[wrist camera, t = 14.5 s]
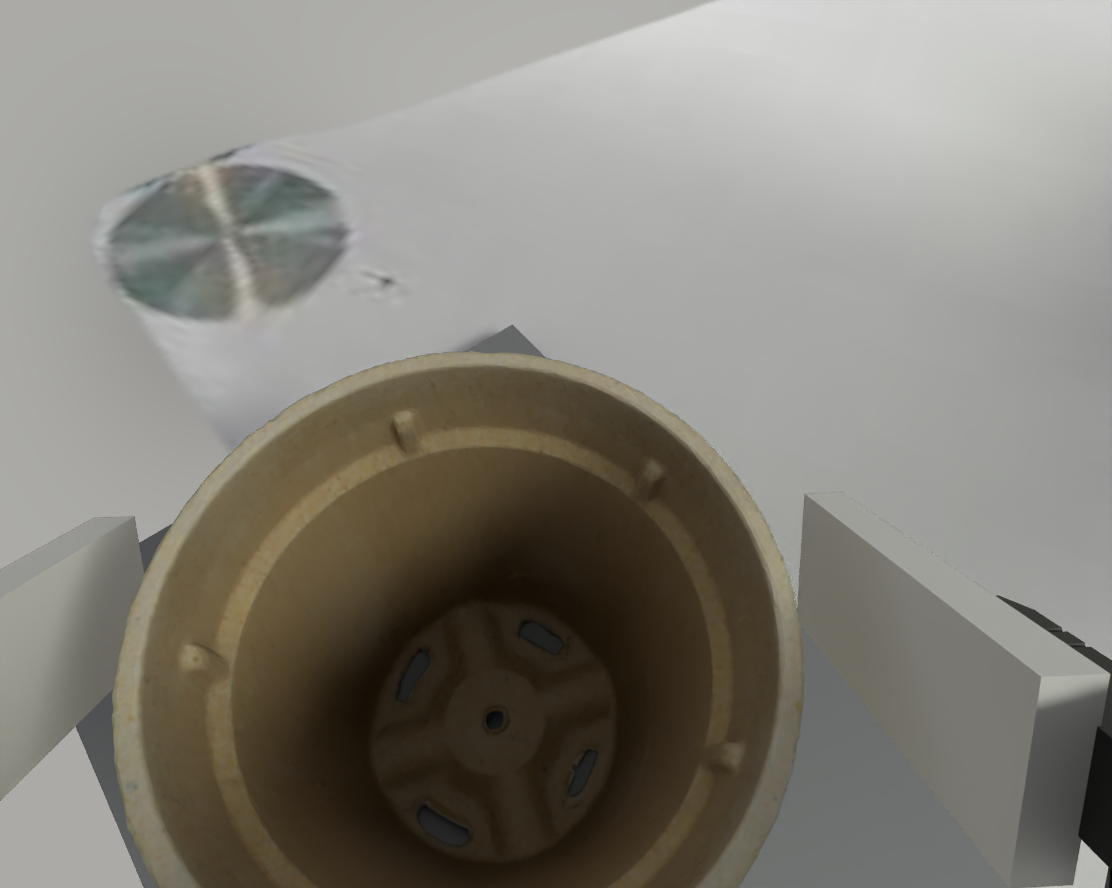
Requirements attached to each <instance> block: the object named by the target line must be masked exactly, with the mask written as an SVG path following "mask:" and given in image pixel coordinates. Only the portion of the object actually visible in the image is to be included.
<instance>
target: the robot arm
mask: <svg viewBox="0 0 1112 888" xmlns="http://www.w3.org/2000/svg"><path fill="white" fill-rule="evenodd" d="M143 576H144V570H143V564H142V558H141V552H140V546H139V540H138V535H137V529H136V523H135V517H107V518H106V517H105V518H93V519H91V520H89V521H87V522H86V523H84V524H82V525H80V526H79V527H77V528H75V529H73V530H71V531H69V532H67V533H66V534H64V535H62V536H60V537H58V538H57V539H55V540H53V541H51V542H49V543H48V544H46V545H44V546H42V547H41V548H39V549H37V550H35V551H33V552H31V553H30V554H28V555H26V556H24V557H22V558H21V559H19V560H17V561H15V562H13V563H12V564H10V565H8V566H6V567H4V568H3V569H1V570H0V801H1V800H2V799H3V798H4V797H5V796H6V794H8V793H9V792H10V791H11V790H12V789H13V788H14V787H15V786H16V785H17V784H18V783H19V782H20V781H21V780H22V779H23V778H24V777H25V776H26V775H27V774H28V773H29V772H30V771H31V770H32V769H33V768H34V767H35V766H36V765H37V764H38V763H39V762H40V761H41V760H42V759H43V758H44V757H45V756H46V755H47V754H48V753H49V752H50V751H51V750H52V749H53V748H54V747H55V746H56V745H57V744H58V743H59V742H60V741H61V740H62V739H63V738H64V737H65V736H66V735H67V734H68V733H69V732H70V731H71V730H72V729H73V728H74V727H75V726H76V725H77V724H78V723H79V722H80V721H81V720H82V719H83V718H84V717H85V716H86V715H87V714H88V713H89V712H90V711H91V710H92V709H93V708H94V707H95V706H96V705H97V704H98V703H99V702H100V701H101V700H102V699H103V698H104V697H105V696H106V695H107V694H108V693H109V692H110V691H111V690H112V689H113V688H114V684H115V679H116V673H117V667H118V657H119V654H120V651H121V648H122V644H123V639H124V634H125V629H126V621H127V618H128V616H129V612H130V608H131V606H132V603H133V601H134V599H135V597H136V595H137V592H138V590H139V588H140V586H141V584H142V579H143ZM797 612H798V614H799V616H800V624H801V626H802V627H803V628H804V630H805V631H806V632H807V633H808V635H809V636H810V637H811V638H812V640H813V641H814V642H815V643H816V645H817V646H818V647H819V649H820V650H821V651H822V652H823V654H824V655H825V656H826V657H827V659H828V660H829V661H830V662H831V664H832V665H833V666H834V667H835V669H836V670H837V671H838V673H839V674H840V675H841V676H842V678H843V679H844V680H845V681H846V683H847V684H848V685H849V686H850V688H851V689H852V690H853V692H854V693H855V694H856V695H857V697H858V698H859V699H860V700H861V702H862V703H863V704H864V705H865V707H866V708H867V709H868V710H869V712H870V713H871V714H872V716H873V717H874V718H875V719H876V721H877V722H878V723H879V724H880V726H881V727H882V728H883V729H884V731H885V732H886V733H887V735H888V736H889V737H890V738H891V740H892V741H893V742H894V743H895V745H896V746H897V747H898V748H899V750H900V751H901V752H902V753H903V755H904V756H905V757H906V759H907V760H908V761H909V762H910V764H911V765H912V766H913V767H914V769H915V770H916V771H917V772H918V774H919V775H920V776H921V778H922V779H923V780H924V781H925V783H926V784H927V785H928V786H929V788H930V789H931V790H932V791H933V793H934V794H935V795H936V796H937V798H938V799H939V800H940V802H941V803H942V804H943V805H944V807H945V808H946V809H947V810H948V812H949V813H950V814H951V815H952V817H953V818H954V819H955V821H956V822H957V823H958V824H959V826H960V827H961V828H962V829H963V831H964V832H965V833H966V834H967V836H968V837H969V838H970V839H971V841H972V842H973V843H974V845H975V846H976V847H977V848H978V850H979V851H980V852H981V853H982V855H983V856H984V857H985V858H986V860H987V861H988V862H989V864H990V865H991V866H992V867H993V869H994V870H995V871H996V872H997V874H998V875H999V876H1000V877H1001V879H1002V880H1003V881H1004V882H1005V884H1006V885H1007V886H1008V888H1026V887H1044V886H1062V885H1073V882H1074V876H1075V871H1076V865H1077V859H1078V854H1079V848H1080V843H1081V839H1082V840H1083V841H1084V842H1085V843H1086V844H1087V845H1088V846H1089V847H1090V848H1091V850H1092V851H1093V852H1094V853H1095V854H1096V855H1097V856H1098V857H1099V858H1100V859H1101V860H1102V861H1103V862H1104V863H1105V864H1106V865H1107V866H1108V867H1109V868H1108V873H1107V878H1106V884H1105V888H1112V660H1110V659H1109V658H1107V657H1105V656H1104V655H1102V654H1101V653H1099V652H1098V651H1096V650H1095V649H1093V648H1092V647H1085V643H1084V642H1083V641H1081V640H1079V639H1078V638H1076V637H1075V636H1073V635H1072V634H1070V633H1069V632H1063V631H1062V628H1061V627H1060V626H1058V625H1057V624H1055V623H1053V622H1052V621H1050V620H1049V619H1047V618H1046V617H1044V616H1043V615H1041V614H1040V613H1038V612H1037V611H1035V610H1033V609H1030V608H1028V607H1026V606H1023V605H1021V604H1018V603H1016V602H1013V601H1011V600H1008V599H1006V598H1003V597H1001V596H995V595H993V594H992V593H990V592H989V591H987V590H986V589H984V588H983V587H982V586H980V585H979V584H977V583H976V582H974V581H973V580H971V579H970V578H968V577H967V576H965V575H964V574H962V573H961V572H959V571H958V570H956V569H955V568H954V567H952V566H951V565H949V564H948V563H946V562H945V561H943V560H942V559H940V558H939V557H937V556H936V555H934V554H933V553H931V552H930V551H928V550H927V549H925V548H924V547H923V546H921V545H920V544H918V543H917V542H915V541H914V540H912V539H911V538H909V537H908V536H906V535H905V534H903V533H902V532H900V531H899V530H897V529H896V528H895V527H893V526H892V525H890V524H889V523H887V522H886V521H884V520H883V519H881V518H880V517H878V516H877V515H875V514H874V513H872V512H871V511H869V510H868V509H866V508H865V507H864V506H862V505H861V504H859V503H858V502H856V501H855V500H853V499H852V498H850V497H849V496H847V495H846V494H844V493H843V492H831V493H805V494H804V510H803V526H802V542H801V559H800V575H799V591H798V607H797Z"/></svg>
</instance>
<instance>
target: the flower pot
mask: <svg viewBox="0 0 1112 888" xmlns="http://www.w3.org/2000/svg"><path fill="white" fill-rule="evenodd" d="M526 622H533V623H537V624H538V625H540V626H542V627H543V628H545V629H546V630H547V631H548V632H549V633H550V634H551V635H553V636H556V637H558V638H559V640H560V641H561V642H562V644H563V647H562V648H561V649H560V650H559V652H558V653H556V654H553V653H551V652H548V651H547V650H545V649H543V648H541V647H539V646H537V645H536V644H535V643H533V642H532V641H529V640H526V639H525V638H524V637H523V638H520V637H519V634H518V633H519V629H520V627H521V625H522V624H523V623H526ZM421 651H425V652H428V653H429V657H430V664H429V666H428V667H427V669H426V670H425V672H424V673H423V674H422V675H420V677H419V678H418V680H417V682H416V684H415V686H414V688H413V690H412V692H411V694H410V695H409V696H408V698H407V699H406V700H399V699H398V698H397V696H398V694H399V692H400V690H401V682H402V680H403V678H404V676H405V674H406V671H407V669H408V668H409V666H410V664H411V662H412V660H413V659H414V658H415V657H416V655H417V654H418V653H420V652H421ZM804 660H805V657H804V649H803V642H802V634H801V625H800V616H799V614H798V612H797V611H796V601H795V594H794V591H793V589H792V586H791V581H790V578H789V575H788V572H787V570H786V567H785V564H784V560H783V556H782V555H781V554H780V551H779V550H778V549H777V546H776V542H775V540H774V537H773V535H772V533H771V531H770V527H769V526H768V524H767V523H766V521H765V519H764V517H763V515H762V513H761V511H760V509H759V507H758V506H757V505H756V503H755V502H754V501H753V500H752V498H751V496H750V494H749V493H748V491H747V490H746V489H745V487H744V486H743V485H742V483H741V482H740V480H739V478H738V476H737V475H736V474H735V473H734V472H733V471H732V470H731V469H730V467H729V466H728V465H727V463H726V462H725V461H724V460H723V459H722V458H721V457H720V456H719V455H718V454H717V452H716V451H715V450H714V449H713V448H712V447H711V446H710V445H709V444H708V443H707V442H706V441H705V440H704V439H703V438H702V437H701V436H700V435H699V434H698V433H697V432H696V431H695V430H693V429H692V428H691V427H690V426H689V425H688V424H687V423H686V422H684V421H683V420H681V419H680V418H679V417H678V416H677V415H675V414H673V413H671V412H669V411H668V410H667V409H666V408H665V407H664V406H662V405H661V404H659V403H657V402H655V401H653V400H652V399H651V398H649V397H648V396H647V395H645V394H643V393H642V392H640V391H638V390H635V389H633V388H632V387H630V386H628V385H625V384H623V383H621V382H619V381H617V380H615V379H613V378H610V377H608V376H606V375H603V374H599V373H597V372H595V371H592V370H587V369H586V368H580V367H579V366H575V365H571V364H568V363H565V362H561V361H557V360H552V359H547V358H543V357H538V356H532V355H526V354H519V353H503V352H502V353H480V352H473V351H468V352H445V353H442V354H438V353H434V354H426V355H421V356H417V357H413V358H407V359H405V360H401V361H395V362H392V363H386V364H383V365H379V366H374V367H372V368H371V369H367V370H364V371H361V372H359V373H357V374H354V375H351V376H348V377H346V378H344V379H342V380H339V381H337V382H335V383H333V384H331V385H329V386H327V387H325V388H323V389H321V390H319V391H317V392H314V393H312V394H309V395H307V396H305V397H303V398H302V399H300V400H299V401H297V402H296V403H294V404H293V405H291V406H289V407H288V408H286V409H285V410H283V411H282V412H281V413H280V414H279V415H278V416H276V417H275V418H274V419H272V420H270V421H269V422H268V423H267V424H266V425H265V426H264V427H262V428H260V429H258V430H257V431H256V432H254V433H252V434H251V435H249V436H248V437H247V438H246V439H245V440H243V442H242V443H241V444H240V445H239V446H238V447H237V448H236V449H235V450H234V451H233V452H232V453H231V454H229V455H228V456H227V457H226V458H225V459H224V461H223V462H222V463H221V464H220V465H218V466H217V467H216V468H215V470H214V471H213V472H212V473H211V474H210V475H209V476H208V477H207V478H206V480H205V481H204V482H203V483H202V484H201V485H200V487H199V489H198V490H197V491H196V493H195V494H194V495H193V496H192V497H191V498H190V500H189V501H188V502H187V503H186V505H185V506H184V508H183V509H182V511H181V512H180V514H179V515H178V517H177V518H176V520H175V521H174V523H173V524H172V526H171V527H170V529H169V530H168V532H167V533H166V535H165V536H164V538H163V539H162V541H161V542H160V544H159V546H158V548H157V549H156V552H155V554H154V556H153V558H152V560H151V562H150V564H149V566H148V568H147V570H146V572H145V574H144V576H143V579H142V584H141V586H140V588H139V590H138V592H137V595H136V597H135V599H134V601H133V603H132V606H131V608H130V612H129V616H128V618H127V621H126V629H125V634H124V639H123V644H122V648H121V651H120V654H119V657H118V667H117V673H116V679H115V684H114V689H113V693H112V701H113V708H114V710H113V714H112V725H113V742H114V749H115V755H114V763H115V767H116V773H117V780H118V783H119V787H120V791H121V795H122V799H123V805H124V811H125V817H126V823H127V828H128V830H129V831H130V832H131V834H132V835H133V839H134V843H135V845H136V846H137V848H138V850H139V852H140V854H141V857H142V859H143V862H144V864H145V866H146V868H147V870H148V872H149V874H150V876H151V877H152V879H153V881H154V883H155V884H156V886H157V888H738V887H739V885H740V884H741V883H742V882H743V881H744V879H745V876H746V875H747V873H748V872H749V870H750V868H751V867H752V865H753V863H754V862H755V860H756V858H757V857H758V855H759V853H760V850H761V848H762V847H763V845H764V843H765V841H766V839H767V837H768V835H769V833H770V831H771V829H772V828H773V826H774V824H775V822H776V820H777V818H778V815H779V812H780V809H781V805H782V802H783V798H784V795H785V793H786V791H787V788H788V783H789V781H790V778H791V775H792V773H793V770H794V761H795V758H796V747H797V742H798V740H799V737H800V726H801V715H802V711H803V704H804ZM492 711H499V712H501V713H502V715H503V724H502V726H500V727H499V728H498V729H489V728H488V726H487V723H486V717H487V715H488V714H489V713H490V712H492ZM587 750H592V751H595V752H596V757H595V759H594V762H593V766H592V768H591V770H590V773H589V775H588V777H587V780H586V782H585V784H584V786H583V788H582V789H581V790H580V791H579V792H578V793H576V794H573V795H570V794H569V793H568V788H569V787H570V785H571V782H572V780H573V778H574V774H575V772H574V770H573V769H572V768H573V765H574V764H575V767H577V765H578V764H579V763H580V762H581V760H582V758H583V757H584V755H585V751H587ZM424 806H428V807H429V808H430V809H432V810H433V811H435V812H436V813H438V814H439V815H441V816H443V817H445V818H447V819H448V820H450V821H451V822H453V823H455V824H457V825H459V826H461V827H464V828H466V829H467V830H468V832H469V836H468V840H467V842H466V843H465V844H464V845H462V846H460V845H455V844H447V843H445V842H442V841H440V840H439V839H438V838H437V837H436V836H434V835H431V834H429V833H428V832H427V831H426V830H425V829H424V827H423V826H422V824H421V822H420V820H419V811H420V809H421V808H422V807H424Z"/></svg>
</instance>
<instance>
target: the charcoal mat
mask: <svg viewBox="0 0 1112 888" xmlns="http://www.w3.org/2000/svg"><path fill="white" fill-rule="evenodd" d="M468 351H473V352H480V353H502V352H503V353H519V354H526V355H532V356H538V357H543V358H545V357H544V356H543V355H542V354H541V353H540V352H539V351H538V350H537V349H536V348H535V347H534V346H533V345H532V344H531V343H530V342H529V341H528V340H527V339H526V338H525V337H524V336H523V335H522V334H521V333H520V332H519V331H518V330H517V329H516V328H515V327H514V326H513V325H511V326H509V327H508V328H506V329H504V330H502V331H501V332H499V333H497V334H496V335H494V336H492V337H490V338H489V339H487V340H485V341H484V342H482V343H480V344H478V345H477V346H475V347H473V348H472V349H470V350H468ZM468 351H467V352H468ZM171 526H172V524H171V525H169V526H168V527H166V528H164V529H162V530H161V531H159V532H158V533H156V534H154V535H152V536H150V537H149V538H147V539H145V540H144V541H142V542H140V543H139V546H140V552H141V558H142V564H143V570H144V574H145V572H146V570H147V568H148V566H149V564H150V562H151V560H152V558H153V556H154V554H155V552H156V549H157V548H158V546H159V544H160V542H161V541H162V539H163V538H164V536H165V535H166V533H167V532H168V530H169V529H170V527H171ZM796 611H797V608H796ZM800 625H801V624H800ZM518 634H519V637H520V638H523V637H524V638H525V639H526V640H529V641H532V642H533V643H535V644H536V645H537V646H539V647H541V648H543V649H545V650H547V651H548V652H551V653H553V654H556V653H558V652H559V650H560V649H561V648H562V647H563V644H562V642H561V641H560V640H559V638H558V637H556V636H553V635H551V634H550V633H549V632H548V631H547V630H546V629H545V628H543V627H542V626H540V625H538V624H537V623H533V622H526V623H523V624H522V625H521V627H520V629H519V633H518ZM801 634H802V642H803V649H804V657H805V660H804V704H803V711H802V715H801V726H800V737H799V740H798V742H797V747H796V758H795V761H794V770H793V773H792V775H791V778H790V781H789V783H788V788H787V791H786V793H785V795H784V798H783V802H782V805H781V809H780V812H779V815H778V818H777V820H776V822H775V824H774V826H773V828H772V829H771V831H770V833H769V835H768V837H767V839H766V841H765V843H764V845H763V847H762V848H761V850H760V853H759V855H758V857H757V858H756V860H755V862H754V863H753V865H752V867H751V868H750V870H749V872H748V873H747V875H746V876H745V879H744V881H743V882H742V883H741V884H740V885H739V887H738V888H1008V886H1007V885H1006V884H1005V882H1004V881H1003V880H1002V879H1001V877H1000V876H999V875H998V874H997V872H996V871H995V870H994V869H993V867H992V866H991V865H990V864H989V862H988V861H987V860H986V858H985V857H984V856H983V855H982V853H981V852H980V851H979V850H978V848H977V847H976V846H975V845H974V843H973V842H972V841H971V839H970V838H969V837H968V836H967V834H966V833H965V832H964V831H963V829H962V828H961V827H960V826H959V824H958V823H957V822H956V821H955V819H954V818H953V817H952V815H951V814H950V813H949V812H948V810H947V809H946V808H945V807H944V805H943V804H942V803H941V802H940V800H939V799H938V798H937V796H936V795H935V794H934V793H933V791H932V790H931V789H930V788H929V786H928V785H927V784H926V783H925V781H924V780H923V779H922V778H921V776H920V775H919V774H918V772H917V771H916V770H915V769H914V767H913V766H912V765H911V764H910V762H909V761H908V760H907V759H906V757H905V756H904V755H903V753H902V752H901V751H900V750H899V748H898V747H897V746H896V745H895V743H894V742H893V741H892V740H891V738H890V737H889V736H888V735H887V733H886V732H885V731H884V729H883V728H882V727H881V726H880V724H879V723H878V722H877V721H876V719H875V718H874V717H873V716H872V714H871V713H870V712H869V710H868V709H867V708H866V707H865V705H864V704H863V703H862V702H861V700H860V699H859V698H858V697H857V695H856V694H855V693H854V692H853V690H852V689H851V688H850V686H849V685H848V684H847V683H846V681H845V680H844V679H843V678H842V676H841V675H840V674H839V673H838V671H837V670H836V669H835V667H834V666H833V665H832V664H831V662H830V661H829V660H828V659H827V657H826V656H825V655H824V654H823V652H822V651H821V650H820V649H819V647H818V646H817V645H816V643H815V642H814V641H813V640H812V638H811V637H810V636H809V635H808V633H807V632H806V631H805V630H804V628H803V627H802V626H801ZM429 664H430V657H429V653H428V652H425V651H421V652H420V653H418V654H417V655H416V657H415V658H414V659H413V660H412V662H411V664H410V666H409V668H408V669H407V671H406V674H405V676H404V678H403V680H402V682H401V690H400V692H399V694H398V696H397V698H398V699H399V700H406V699H407V698H408V696H409V695H410V694H411V692H412V690H413V688H414V686H415V684H416V682H417V680H418V678H419V677H420V675H422V674H423V673H424V672H425V670H426V669H427V667H428V666H429ZM113 689H114V688H113ZM113 689H112V690H111V691H110V692H109V693H108V694H107V695H106V696H105V697H104V698H103V699H102V700H101V701H100V702H99V703H98V704H97V705H96V706H95V707H94V708H93V709H92V710H91V711H90V712H89V713H88V714H87V715H86V716H85V717H84V718H83V719H82V720H81V721H80V722H79V723H78V724H77V725H76V728H77V731H78V733H79V735H80V738H81V740H82V742H83V745H84V747H85V749H86V752H87V754H88V757H89V759H90V761H91V764H92V766H93V769H94V771H95V773H96V776H97V778H98V780H99V783H100V785H101V788H102V790H103V792H104V795H105V797H106V799H107V801H108V804H109V807H110V809H111V811H112V813H113V816H114V818H115V821H116V823H117V825H118V828H119V830H120V833H121V835H122V837H123V839H124V842H125V844H126V847H127V849H128V852H129V854H130V856H131V859H132V861H133V863H134V866H135V868H136V871H137V873H138V875H139V878H140V880H141V882H142V885H143V887H144V888H157V886H156V884H155V883H154V881H153V879H152V877H151V876H150V874H149V872H148V870H147V868H146V866H145V864H144V862H143V859H142V857H141V854H140V852H139V850H138V848H137V846H136V845H135V843H134V839H133V835H132V834H131V832H130V831H129V830H128V828H127V823H126V817H125V811H124V805H123V799H122V795H121V791H120V787H119V783H118V780H117V773H116V767H115V763H114V755H115V749H114V742H113V725H112V714H113V710H114V708H113V701H112V693H113ZM486 723H487V726H488V728H489V729H498V728H499V727H500V726H502V724H503V715H502V713H501V712H499V711H492V712H490V713H489V714H488V715H487V717H486ZM595 757H596V752H595V751H592V750H587V751H585V755H584V757H583V758H582V760H581V762H580V763H579V764H578V765H577V767H575V764H574V765H573V768H572V769H573V770H574V772H575V774H574V778H573V780H572V782H571V785H570V787H569V788H568V793H569V794H570V795H573V794H576V793H578V792H579V791H580V790H581V789H582V788H583V786H584V784H585V782H586V780H587V777H588V775H589V773H590V770H591V768H592V766H593V762H594V759H595ZM419 820H420V822H421V824H422V826H423V827H424V829H425V830H426V831H427V832H428V833H429V834H431V835H434V836H436V837H437V838H438V839H439V840H440V841H442V842H445V843H447V844H455V845H460V846H462V845H464V844H465V843H466V842H467V840H468V836H469V832H468V830H467V829H466V828H464V827H461V826H459V825H457V824H455V823H453V822H451V821H450V820H448V819H447V818H445V817H443V816H441V815H439V814H438V813H436V812H435V811H433V810H432V809H430V808H429V807H428V806H424V807H422V808H421V809H420V811H419Z"/></svg>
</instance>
